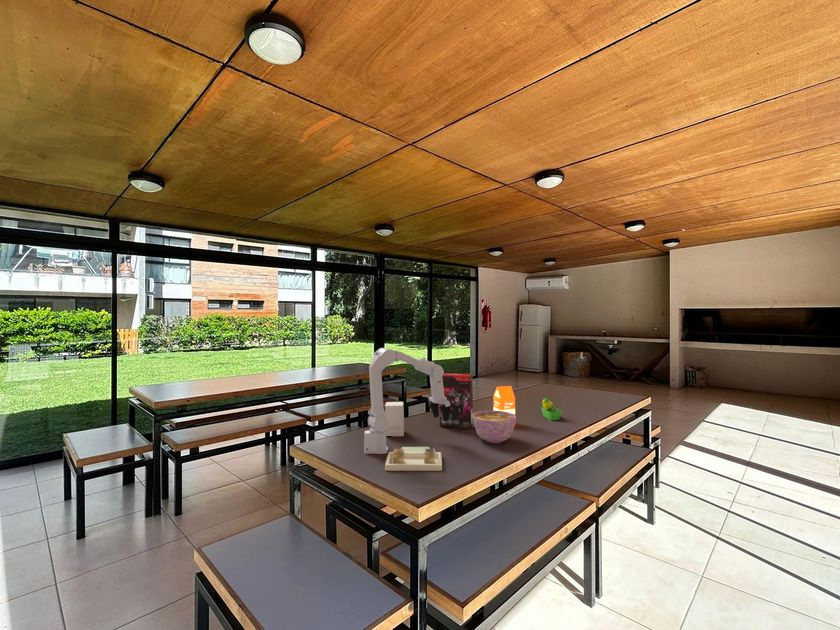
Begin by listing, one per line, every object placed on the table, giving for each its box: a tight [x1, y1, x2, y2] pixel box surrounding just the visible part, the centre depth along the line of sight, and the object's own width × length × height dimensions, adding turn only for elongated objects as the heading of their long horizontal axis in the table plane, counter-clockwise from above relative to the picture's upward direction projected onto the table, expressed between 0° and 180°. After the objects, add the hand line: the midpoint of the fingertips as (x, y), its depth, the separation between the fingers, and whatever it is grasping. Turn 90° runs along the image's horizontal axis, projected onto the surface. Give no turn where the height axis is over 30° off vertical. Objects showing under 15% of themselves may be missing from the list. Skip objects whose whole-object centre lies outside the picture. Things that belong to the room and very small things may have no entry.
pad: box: [401, 446, 430, 452], centre depth 168 cm, size 12×10×1 cm
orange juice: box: [492, 385, 516, 416], centre depth 211 cm, size 8×9×20 cm
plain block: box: [392, 448, 404, 464], centre depth 154 cm, size 4×4×5 cm
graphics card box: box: [439, 372, 474, 429], centre depth 207 cm, size 17×7×27 cm, turn 73°
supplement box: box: [384, 401, 405, 437], centre depth 194 cm, size 9×9×15 cm
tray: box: [384, 451, 443, 472], centre depth 154 cm, size 21×14×2 cm, turn 89°
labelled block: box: [424, 448, 436, 464], centre depth 154 cm, size 4×4×5 cm
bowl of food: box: [472, 409, 517, 444], centre depth 183 cm, size 20×20×12 cm
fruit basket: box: [540, 397, 563, 421], centre depth 223 cm, size 11×9×11 cm
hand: (441, 418), depth 183 cm, fingers open, 7 cm apart
